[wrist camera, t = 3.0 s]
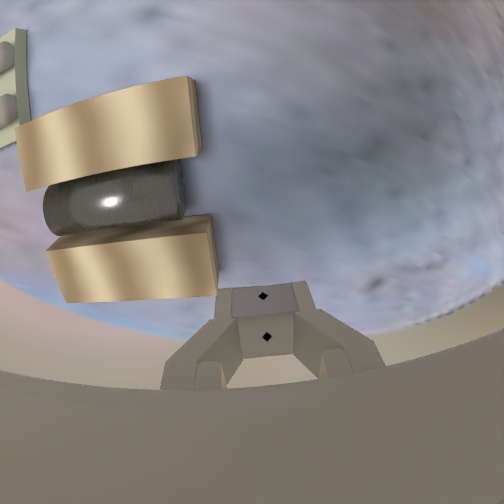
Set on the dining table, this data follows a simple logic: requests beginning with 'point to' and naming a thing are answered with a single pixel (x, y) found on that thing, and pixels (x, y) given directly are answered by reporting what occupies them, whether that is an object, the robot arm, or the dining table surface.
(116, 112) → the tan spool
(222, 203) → the dining table surface
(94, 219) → the axle
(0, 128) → the plate with parallel rods
